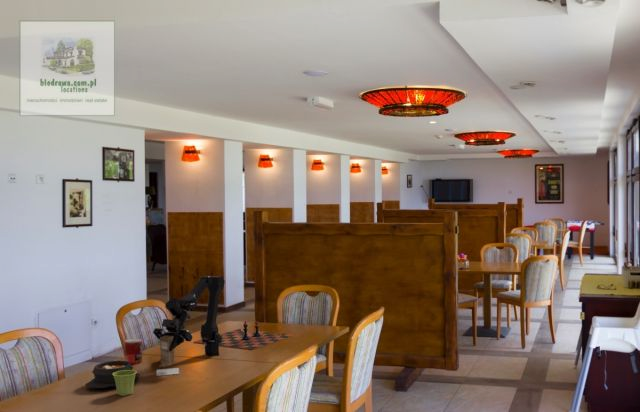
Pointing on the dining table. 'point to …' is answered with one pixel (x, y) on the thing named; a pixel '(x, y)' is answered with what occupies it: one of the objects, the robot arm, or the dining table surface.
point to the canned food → (133, 350)
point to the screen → (163, 365)
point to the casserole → (108, 373)
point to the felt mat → (167, 371)
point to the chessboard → (248, 338)
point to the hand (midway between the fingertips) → (165, 350)
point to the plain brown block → (166, 350)
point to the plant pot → (124, 381)
